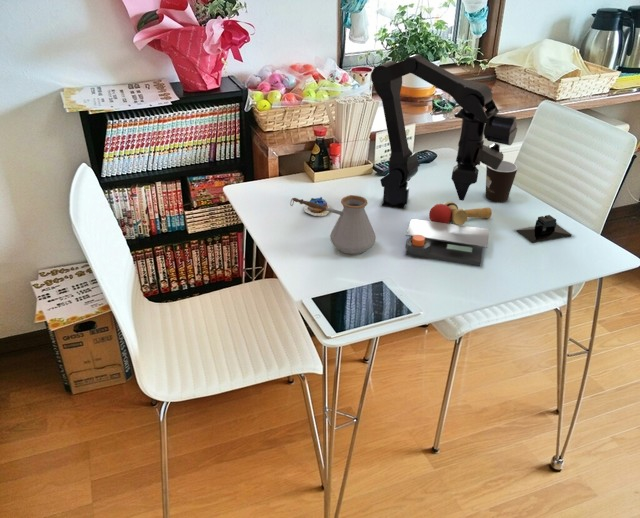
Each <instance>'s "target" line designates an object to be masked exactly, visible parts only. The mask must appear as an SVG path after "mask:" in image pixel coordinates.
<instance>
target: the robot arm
mask: <svg viewBox="0 0 640 518" xmlns="http://www.w3.org/2000/svg"><path fill="white" fill-rule="evenodd" d="M409 74H412V75H414V76H415V77H417V78H419V79H420V80H422V81H424V82H426V83H428V84H429V85H430V84H431V85H432V86H433V87H435V88H437V89H439V90H440V91H443V92H445V93H446V94H448V95H449V96H451V98H452V99H453V100H454V102H455V103H456V104H457V105H458V106H459V107H461V109H459V111H457V112H456V113H455V114H454V115H453V117H454V118H457V119H461V125H460V133H459V138H458V139H459V140H458V144H457V154H456V157H455V158H456V159H455V162H457V164H456V165H455V166H453V167H452V172H451V181H452V182H453V185H454V188H455V191H456V194H457V197H458V200H459V201H462V202H463V201H465V198H466V196H467V194H468V191H469V188H470V186H471V185H473V184H476V183H478V176H479V172H480V170H479V169H478V167H477V166H480V165H481V163H482V164H483V165H486V166H489V167H491V168H492V169H494V170H497V169H498V167H499V165H500V164H501V162H502V161H504V153H503V151H500V149H501V145H500V144H502V145H506V146H512V145H513V143H514V141H515V138H516V136H517V132H518V127H517V126H518V124H517V122H516V121H517V116H515V115H504V114H500V111H499V109H498V107H497V104H496V103H495V101H494V98H493V92H492V89H491V87H490V86H489V85H487V84H485V83H482V82H479V81H475V80H471V79H465V78H461V77H459V76H457V75H456V74H454V73H452V72H450V71H448V70H447V69H445V68H443V67H441V66H439V65H437V64H435V63H434V62H432V61H430V60H428V59H427V58H425V57H424V56H422V54H419V53H416V54H413V55H410V56H408V57H406V58H405V59H402V60H400V61H397V62H396V61H394V60H389V61H386V62H384V63H382V64H379V65H377V66H375V67H374V68H373V69H372V71H371V73H370V79H371V83H372V85H373V89H374V91H375V93H376V94H377V96H378V97H379V99H380V100H381V104H382V108H383V109H382V110H383V114H384V120H385V125H386V130H387V131H386V132H387V136H388V142H389V147H390V155H389V161H388V174H386V175H385V176H383V177H381V178H380V179H379V180H380V185H381V187H382V188H383V195H382V202H381V207H386V208H394V209H400V210H402V209H403V210H404V209H405V208H406V205H408V202H409V197H410V188H409V187H408V186H409V185H408V183H409V181H410V180H412V179H413V177H415V176H416V175H417V174H418V172H419V167H420V166H421V164H420V163H419V159H418V152H417V151H415V152H413V151H412V150H411V149H410V147H409V143H408V137H407V132H406V125H405V119H404V113H403V108H402V102H401V91H402V88H403V87H402V86H403V77H404V76H406V75H409ZM484 139H485V140H487V142H492V144H491V145H485V144H484V143H485V140H484Z"/></svg>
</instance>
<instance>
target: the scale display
mask: <svg viewBox="0 0 640 518" xmlns="http://www.w3.org/2000/svg"><path fill="white" fill-rule="evenodd" d="M446 249H450V250H456V251H463V252H470V253H472V248H471V247H464V246H458V245H451V244H447V248H446Z"/></svg>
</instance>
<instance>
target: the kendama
mask: <svg viewBox="0 0 640 518" xmlns="http://www.w3.org/2000/svg"><path fill="white" fill-rule="evenodd" d="M492 214H493V210H492V208H491V207H489V206H487V207H479V208H468V209H463V208H459V206H458V205H457V204H456V203H455V202H453V201H446V202H445V203H437V204H435V205H433V206H432V207H431V208H430V209H429V213H428V216H429V217H428V218H429V221H432V222H440V223H447V224H450V223H451V222H452V224H454V225H461V226H463V225H464V224H465V223H466V222H467V220H468V218H477V219H478V218H481V219H490V218H491V217H492Z"/></svg>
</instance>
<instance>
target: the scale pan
mask: <svg viewBox="0 0 640 518" xmlns="http://www.w3.org/2000/svg"><path fill="white" fill-rule="evenodd" d="M414 235H422V236H424V237H425V239H430V240H437V241H444V242H451V243H458V244H465V245H472V246H478V247H483V248H489V238H490V229H489V228H482V227H475V226H467V225H456V224H454V223H448V224H447V223H440V222H432V221H431V220H425V219H416V218H411V220H410V221H409V225H408V227H407V229H406V234H405V236H406V237H409V238H411V237H413V236H414Z"/></svg>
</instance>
